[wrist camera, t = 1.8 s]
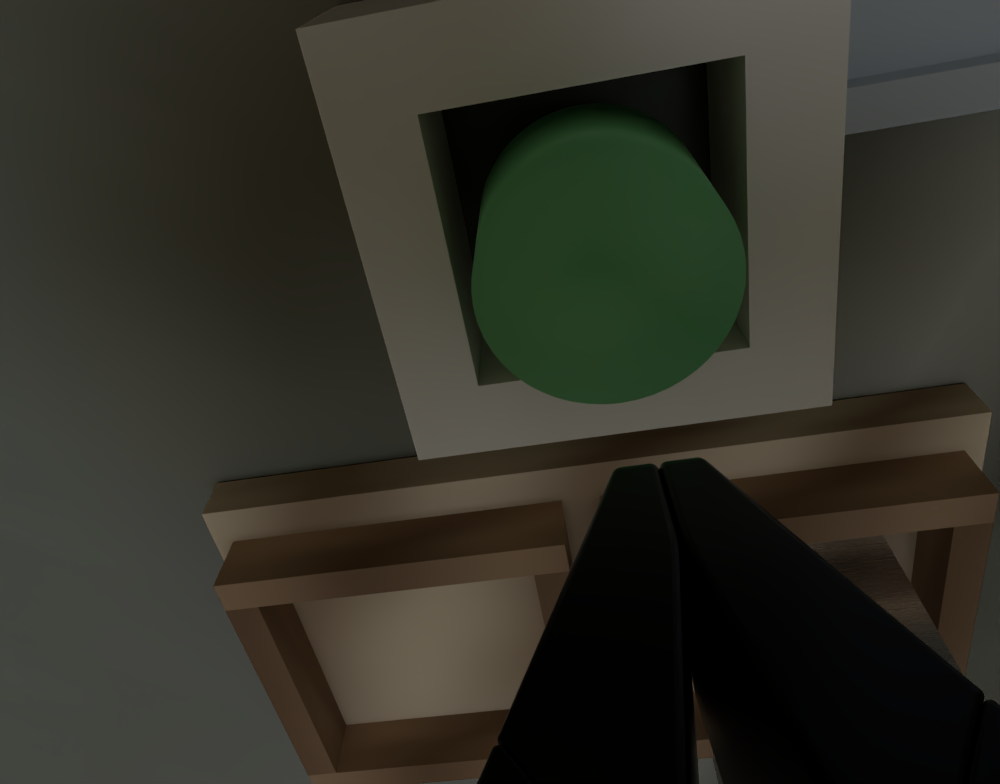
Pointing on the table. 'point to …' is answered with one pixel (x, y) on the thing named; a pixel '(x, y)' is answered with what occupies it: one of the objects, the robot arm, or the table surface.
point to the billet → (880, 588)
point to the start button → (603, 257)
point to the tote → (921, 61)
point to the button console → (560, 64)
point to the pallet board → (549, 562)
